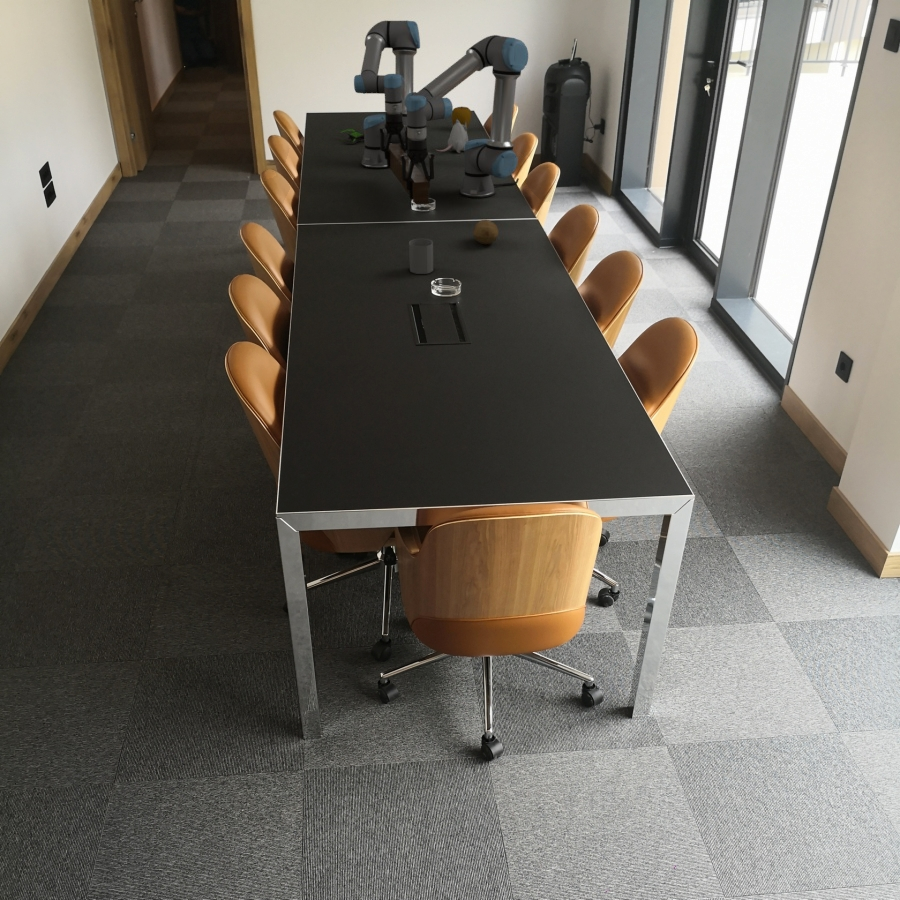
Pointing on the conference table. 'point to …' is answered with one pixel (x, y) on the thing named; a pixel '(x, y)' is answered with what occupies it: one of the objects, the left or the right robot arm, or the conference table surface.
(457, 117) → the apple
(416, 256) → the cup
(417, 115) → the right robot arm
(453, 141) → the toy
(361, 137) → the green toy turtle
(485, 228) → the potato
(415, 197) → the beam
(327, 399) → the conference table surface
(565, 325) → the conference table surface
